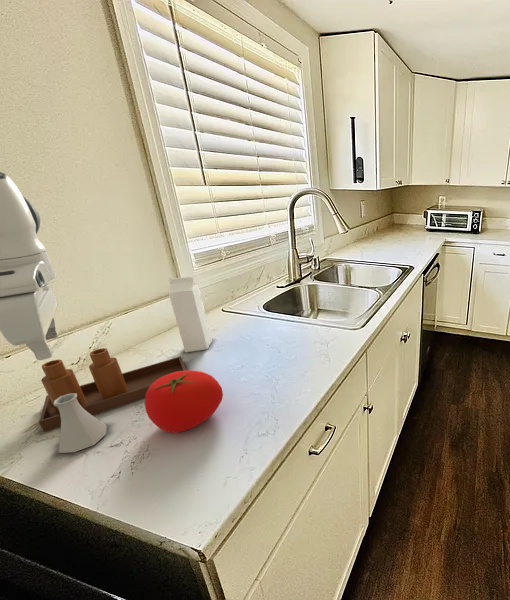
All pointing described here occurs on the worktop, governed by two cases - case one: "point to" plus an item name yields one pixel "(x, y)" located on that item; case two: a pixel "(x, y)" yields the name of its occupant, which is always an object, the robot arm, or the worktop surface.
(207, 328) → the milk
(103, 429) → the flask
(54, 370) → the spice bottle
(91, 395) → the tray
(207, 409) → the tomato
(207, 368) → the worktop surface
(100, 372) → the spice bottle
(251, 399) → the worktop surface
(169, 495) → the worktop surface
